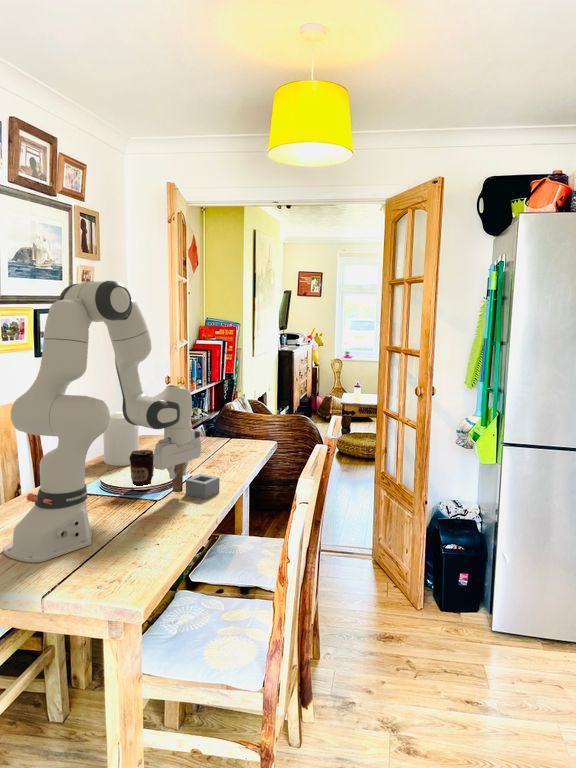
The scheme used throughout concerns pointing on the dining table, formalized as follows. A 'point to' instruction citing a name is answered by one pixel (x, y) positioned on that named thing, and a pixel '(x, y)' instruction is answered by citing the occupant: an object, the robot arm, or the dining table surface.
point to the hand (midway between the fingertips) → (177, 476)
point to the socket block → (202, 486)
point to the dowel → (178, 478)
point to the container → (120, 440)
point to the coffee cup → (141, 467)
